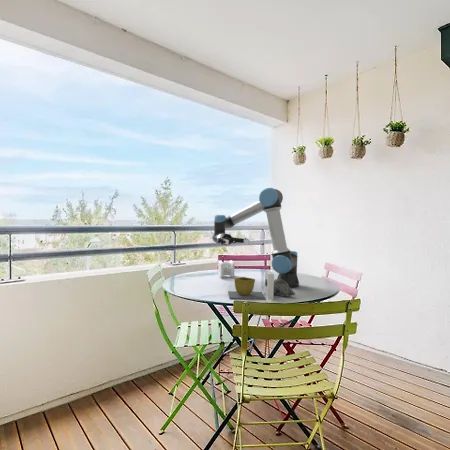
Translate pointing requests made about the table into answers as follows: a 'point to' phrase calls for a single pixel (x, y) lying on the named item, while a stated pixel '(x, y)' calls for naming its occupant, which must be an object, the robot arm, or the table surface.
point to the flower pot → (244, 285)
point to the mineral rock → (282, 288)
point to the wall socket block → (269, 284)
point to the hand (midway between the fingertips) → (238, 242)
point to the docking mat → (251, 296)
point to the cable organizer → (226, 268)
